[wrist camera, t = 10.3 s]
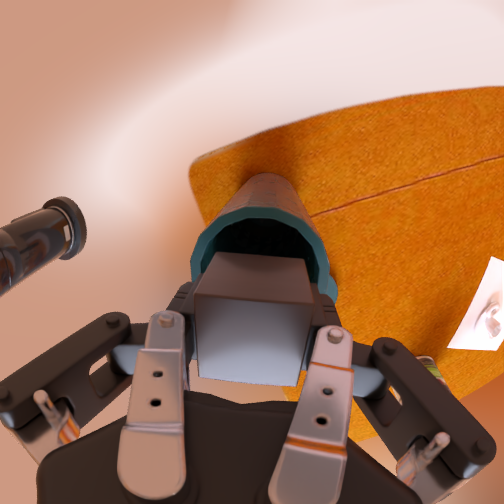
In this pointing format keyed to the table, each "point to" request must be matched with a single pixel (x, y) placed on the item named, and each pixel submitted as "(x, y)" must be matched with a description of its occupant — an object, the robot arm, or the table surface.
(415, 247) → the table surface
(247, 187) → the tin
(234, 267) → the block
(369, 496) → the robot arm
